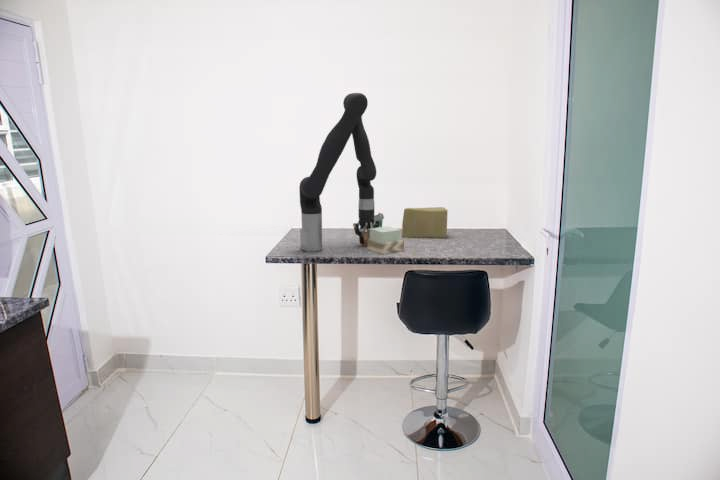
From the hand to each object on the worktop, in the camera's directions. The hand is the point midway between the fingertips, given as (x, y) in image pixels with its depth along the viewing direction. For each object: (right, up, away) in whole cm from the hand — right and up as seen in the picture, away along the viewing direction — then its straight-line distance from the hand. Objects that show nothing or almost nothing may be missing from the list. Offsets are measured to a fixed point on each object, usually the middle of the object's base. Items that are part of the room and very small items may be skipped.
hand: (366, 242), depth 243 cm
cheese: (+30, +3, +17) cm, 34 cm away
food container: (+6, +5, +25) cm, 26 cm away
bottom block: (+9, -3, -9) cm, 13 cm away
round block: (0, -1, 0) cm, 1 cm away
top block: (+8, +2, -10) cm, 13 cm away
